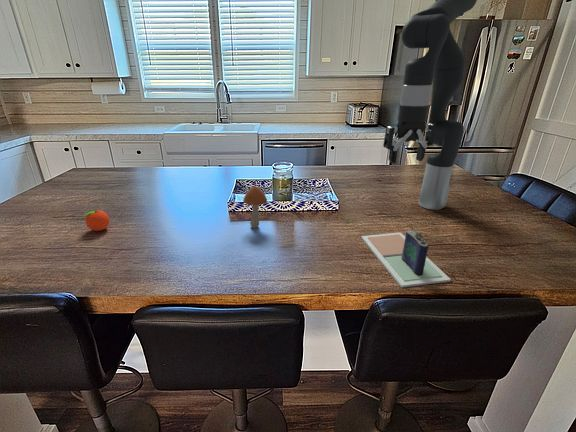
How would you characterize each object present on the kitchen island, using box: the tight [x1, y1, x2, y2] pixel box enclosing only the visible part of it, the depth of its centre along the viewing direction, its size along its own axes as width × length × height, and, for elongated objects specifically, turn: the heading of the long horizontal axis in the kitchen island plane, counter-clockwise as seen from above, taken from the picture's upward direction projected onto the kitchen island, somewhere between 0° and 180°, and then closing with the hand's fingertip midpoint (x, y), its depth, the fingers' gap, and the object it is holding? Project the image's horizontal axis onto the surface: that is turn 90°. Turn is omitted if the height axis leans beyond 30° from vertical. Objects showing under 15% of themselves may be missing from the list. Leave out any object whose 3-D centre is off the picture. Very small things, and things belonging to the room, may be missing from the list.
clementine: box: [81, 209, 110, 232], centre depth 106 cm, size 8×7×7 cm
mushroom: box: [242, 185, 268, 229], centre depth 107 cm, size 8×8×15 cm
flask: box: [401, 229, 430, 276], centre depth 85 cm, size 9×3×11 cm, turn 9°
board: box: [360, 232, 451, 288], centre depth 93 cm, size 14×26×1 cm, turn 11°
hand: (405, 161), depth 92 cm, fingers open, 8 cm apart
